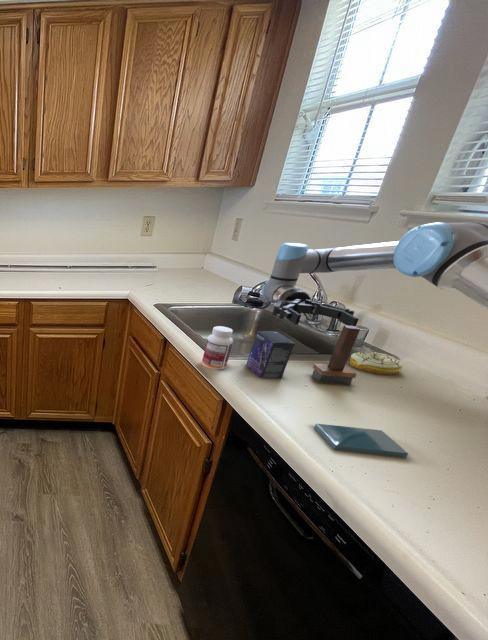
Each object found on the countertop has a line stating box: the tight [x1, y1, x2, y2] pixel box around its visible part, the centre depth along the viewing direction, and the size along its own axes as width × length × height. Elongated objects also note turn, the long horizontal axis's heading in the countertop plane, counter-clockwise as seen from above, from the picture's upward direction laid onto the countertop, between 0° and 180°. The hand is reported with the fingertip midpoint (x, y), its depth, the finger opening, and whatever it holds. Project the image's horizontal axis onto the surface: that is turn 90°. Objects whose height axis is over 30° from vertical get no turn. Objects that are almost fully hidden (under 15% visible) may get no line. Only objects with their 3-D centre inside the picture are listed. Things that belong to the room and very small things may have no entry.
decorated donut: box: [349, 351, 403, 376], centre depth 115 cm, size 10×11×4 cm
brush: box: [311, 324, 361, 386], centre depth 104 cm, size 8×5×15 cm, turn 78°
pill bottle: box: [201, 325, 234, 370], centre depth 114 cm, size 6×6×11 cm
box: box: [245, 330, 296, 379], centre depth 110 cm, size 8×6×11 cm
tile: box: [313, 423, 409, 459], centre depth 83 cm, size 12×8×2 cm, turn 78°
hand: (326, 321), depth 112 cm, fingers open, 13 cm apart
